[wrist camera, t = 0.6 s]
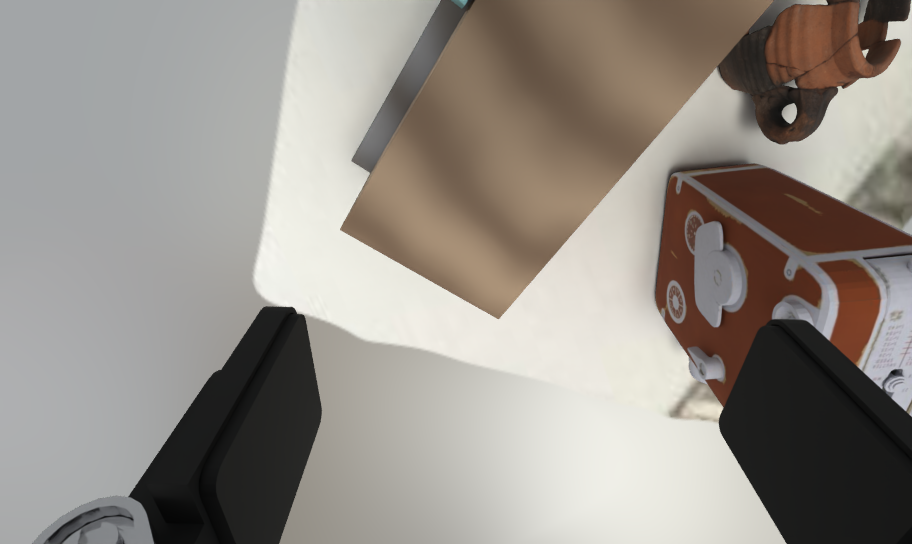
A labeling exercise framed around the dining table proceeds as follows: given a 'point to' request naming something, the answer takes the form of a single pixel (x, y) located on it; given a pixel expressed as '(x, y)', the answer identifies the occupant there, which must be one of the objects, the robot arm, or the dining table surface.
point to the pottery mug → (811, 60)
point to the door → (460, 2)
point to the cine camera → (781, 274)
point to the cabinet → (525, 128)
